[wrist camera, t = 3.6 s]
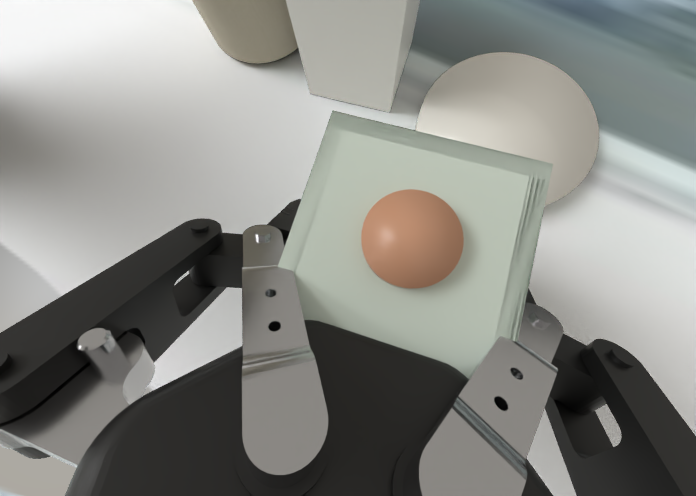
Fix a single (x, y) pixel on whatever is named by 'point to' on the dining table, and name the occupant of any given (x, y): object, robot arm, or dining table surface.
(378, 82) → the tall white lidded box
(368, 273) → the pale grey boxy piece
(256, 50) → the travel mug
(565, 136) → the dish
